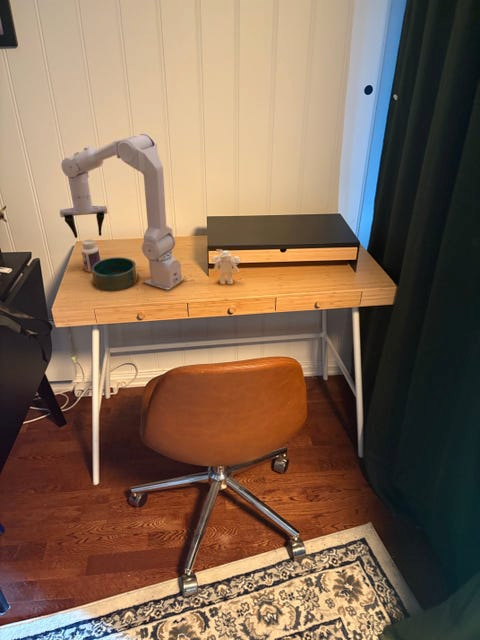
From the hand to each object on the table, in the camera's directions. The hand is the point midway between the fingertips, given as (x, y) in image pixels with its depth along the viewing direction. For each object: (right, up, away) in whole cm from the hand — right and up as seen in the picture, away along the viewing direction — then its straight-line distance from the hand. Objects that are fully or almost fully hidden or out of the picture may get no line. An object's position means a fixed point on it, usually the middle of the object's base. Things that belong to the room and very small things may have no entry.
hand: (88, 235), depth 157 cm
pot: (+10, -15, -5) cm, 19 cm away
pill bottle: (+1, -11, +3) cm, 11 cm away
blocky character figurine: (+46, -16, -6) cm, 49 cm away
